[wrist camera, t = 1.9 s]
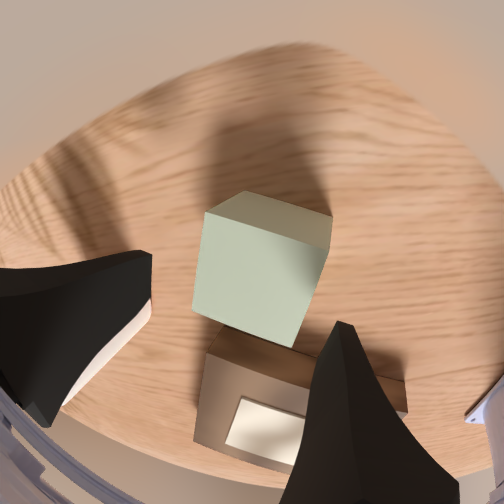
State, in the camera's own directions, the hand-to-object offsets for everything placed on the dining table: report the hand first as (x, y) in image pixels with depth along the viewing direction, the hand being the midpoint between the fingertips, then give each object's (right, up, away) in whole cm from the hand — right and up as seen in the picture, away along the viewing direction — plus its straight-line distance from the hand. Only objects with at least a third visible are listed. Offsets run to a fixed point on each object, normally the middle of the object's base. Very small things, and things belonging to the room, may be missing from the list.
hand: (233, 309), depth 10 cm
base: (+4, -11, +11) cm, 16 cm away
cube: (+2, +3, +6) cm, 7 cm away
